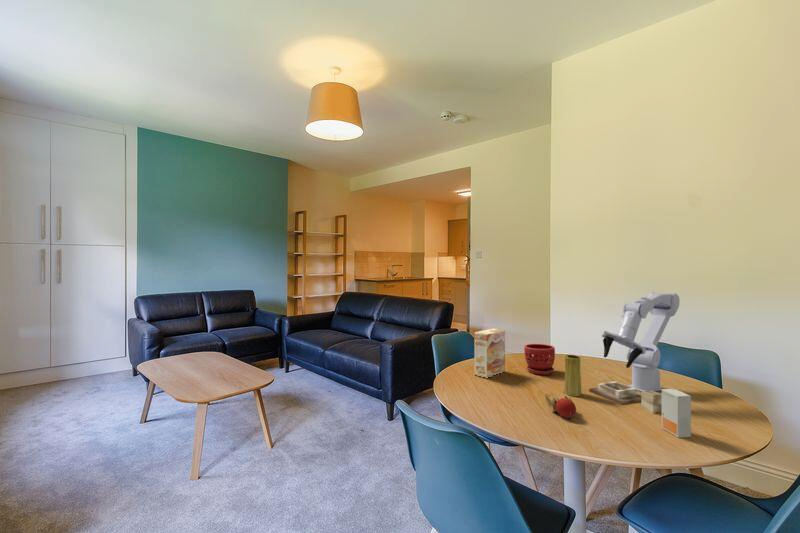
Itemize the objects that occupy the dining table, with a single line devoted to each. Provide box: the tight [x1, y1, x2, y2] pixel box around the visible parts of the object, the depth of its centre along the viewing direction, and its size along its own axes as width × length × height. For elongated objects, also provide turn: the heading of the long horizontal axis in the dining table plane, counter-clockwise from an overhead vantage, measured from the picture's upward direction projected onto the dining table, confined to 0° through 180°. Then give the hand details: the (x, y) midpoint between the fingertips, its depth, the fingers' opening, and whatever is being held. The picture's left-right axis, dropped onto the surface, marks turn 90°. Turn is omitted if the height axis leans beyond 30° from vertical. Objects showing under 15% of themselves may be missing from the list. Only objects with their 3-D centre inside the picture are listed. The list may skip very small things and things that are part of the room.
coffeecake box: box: [473, 328, 506, 379], centre depth 162 cm, size 15×7×20 cm, turn 132°
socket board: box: [588, 380, 641, 405], centre depth 135 cm, size 12×14×4 cm
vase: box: [563, 354, 582, 397], centre depth 137 cm, size 6×6×14 cm
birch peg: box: [640, 390, 662, 414], centre depth 121 cm, size 4×4×6 cm
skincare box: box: [660, 388, 692, 439], centre depth 105 cm, size 6×4×12 cm
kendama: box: [544, 391, 577, 419], centre depth 123 cm, size 8×6×18 cm
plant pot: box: [524, 343, 556, 375], centre depth 165 cm, size 13×13×12 cm
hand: (616, 361), depth 130 cm, fingers open, 7 cm apart
